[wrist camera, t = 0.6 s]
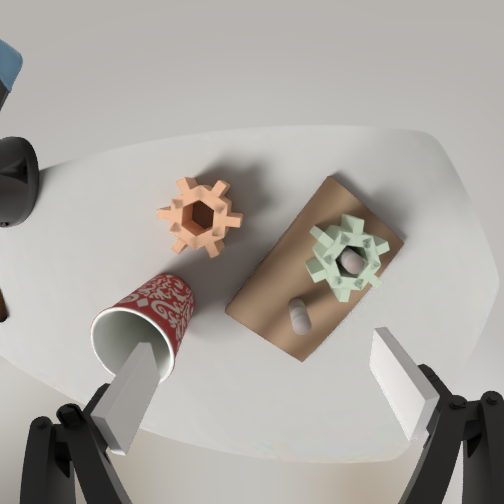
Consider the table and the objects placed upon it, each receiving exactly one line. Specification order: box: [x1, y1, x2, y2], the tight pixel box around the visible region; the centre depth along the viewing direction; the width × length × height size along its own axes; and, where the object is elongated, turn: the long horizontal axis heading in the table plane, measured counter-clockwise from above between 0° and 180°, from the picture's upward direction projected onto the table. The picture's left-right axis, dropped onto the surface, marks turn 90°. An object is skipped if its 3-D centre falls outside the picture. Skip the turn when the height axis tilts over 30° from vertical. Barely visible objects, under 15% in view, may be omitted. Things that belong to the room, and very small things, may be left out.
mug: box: [90, 274, 195, 384], centre depth 31 cm, size 13×9×14 cm
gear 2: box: [305, 214, 390, 302], centre depth 31 cm, size 9×8×5 cm
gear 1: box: [157, 177, 243, 258], centre depth 32 cm, size 9×8×5 cm
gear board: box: [225, 176, 404, 362], centre depth 32 cm, size 13×21×8 cm, turn 143°
